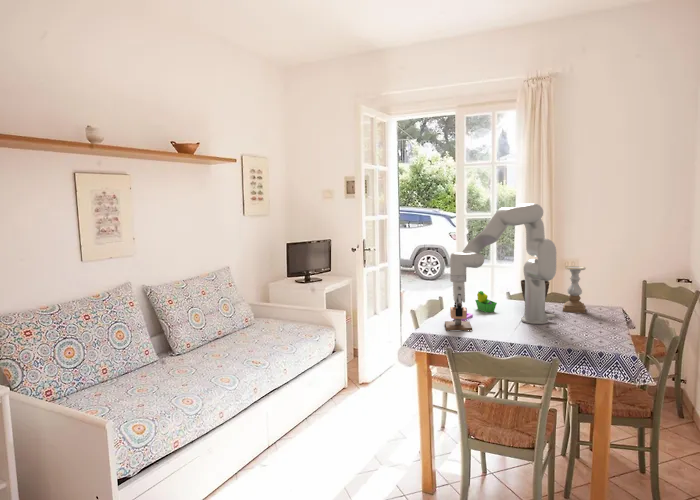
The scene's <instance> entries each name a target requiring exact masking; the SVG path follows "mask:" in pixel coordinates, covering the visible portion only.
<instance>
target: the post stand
mask: <svg viewBox="0 0 700 500" xmlns="http://www.w3.org/2000/svg"><path fill="white" fill-rule="evenodd" d="M444 326H446V327H445V331H447V330H465V331H464V332H471V331H470V330H472V331H473V326H472V324H471V322H470V321H468V320H466V321H461V319H455V320H454V321H453V320H452V321H451V320H450V321H449V320H447V321H446V320H445V321H444ZM468 330H469V331H468Z"/></svg>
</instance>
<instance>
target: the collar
mask: <svg viewBox="0 0 700 500" xmlns="http://www.w3.org/2000/svg"><path fill="white" fill-rule="evenodd" d="M462 308H463V316H462V317H456V307H454V306H450V312H449V313H450V314H449V315H450V318H451V319H453V320H454V319H466V313H468V310H467V311H466V308H467V307H465V306H462Z"/></svg>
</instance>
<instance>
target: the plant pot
mask: <svg viewBox="0 0 700 500" xmlns="http://www.w3.org/2000/svg"><path fill="white" fill-rule="evenodd" d="M520 288H521V293H522V297H523V298H522V299H523V300H524V302H525V279H522V280H520ZM549 289H550V281H545V301H546V299H547V297H548V293H549Z"/></svg>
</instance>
